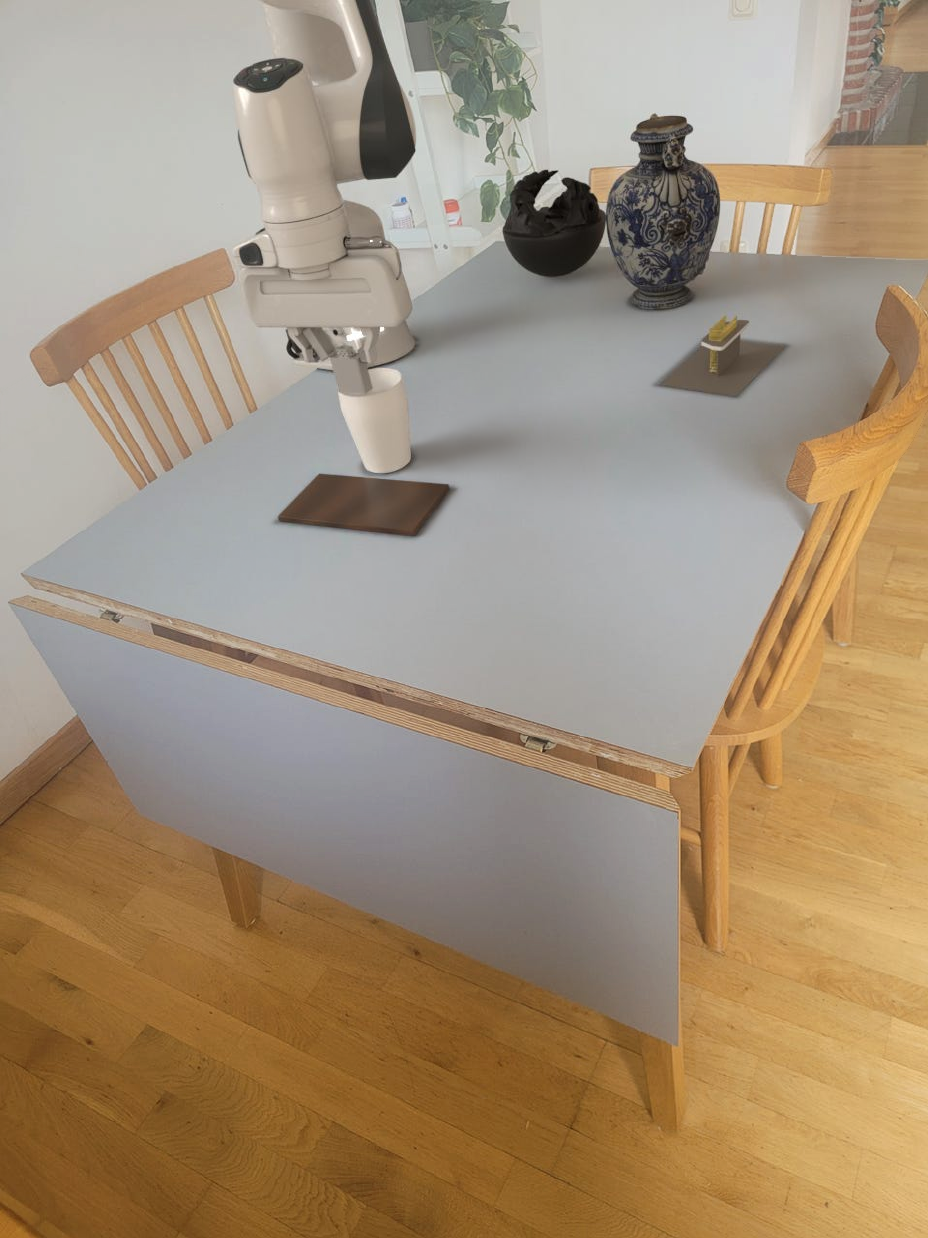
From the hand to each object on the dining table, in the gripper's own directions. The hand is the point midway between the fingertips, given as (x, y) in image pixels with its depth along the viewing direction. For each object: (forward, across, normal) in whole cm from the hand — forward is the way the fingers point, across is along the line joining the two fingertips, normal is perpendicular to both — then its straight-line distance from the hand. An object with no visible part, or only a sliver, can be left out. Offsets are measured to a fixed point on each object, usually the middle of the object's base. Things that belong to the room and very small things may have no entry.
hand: (341, 361), depth 100 cm
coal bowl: (+19, +1, -84) cm, 86 cm away
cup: (+19, +2, -9) cm, 21 cm away
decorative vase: (+19, -23, -70) cm, 76 cm away
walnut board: (+19, +1, +2) cm, 19 cm away
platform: (+19, -38, -43) cm, 60 cm away
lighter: (+4, 0, 0) cm, 4 cm away
